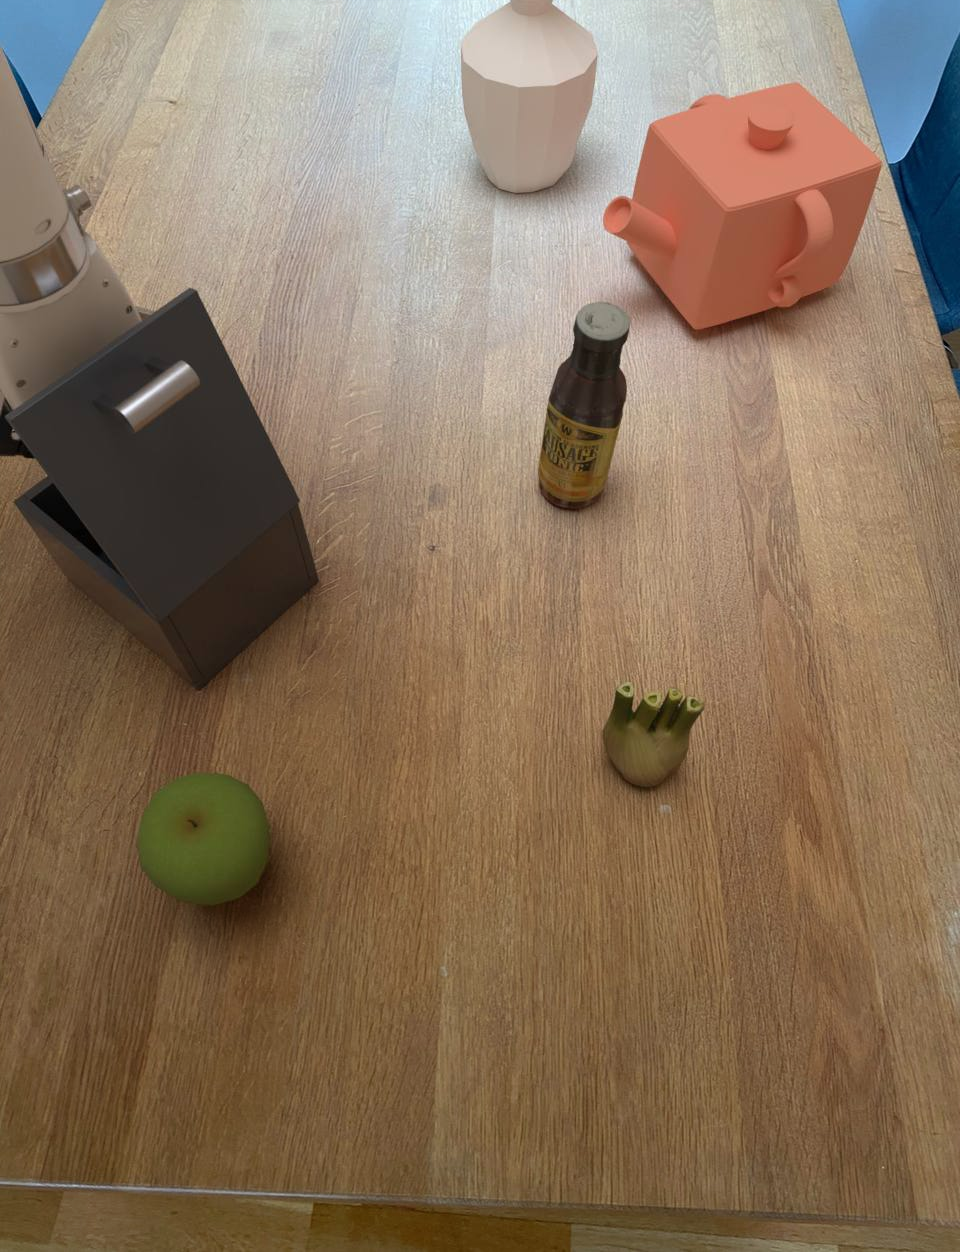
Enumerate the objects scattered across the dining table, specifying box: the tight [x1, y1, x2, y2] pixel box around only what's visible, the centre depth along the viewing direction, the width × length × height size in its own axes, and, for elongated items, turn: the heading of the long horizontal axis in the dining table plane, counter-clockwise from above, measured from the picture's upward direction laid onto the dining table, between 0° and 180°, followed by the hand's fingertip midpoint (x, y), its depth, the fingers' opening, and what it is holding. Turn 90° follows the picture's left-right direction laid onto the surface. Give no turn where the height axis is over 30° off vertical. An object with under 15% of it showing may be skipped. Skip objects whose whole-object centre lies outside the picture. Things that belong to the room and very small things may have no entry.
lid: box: [5, 287, 301, 622], centre depth 61 cm, size 18×14×5 cm
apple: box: [136, 772, 271, 906], centre depth 63 cm, size 9×8×12 cm
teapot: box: [602, 81, 883, 330], centre depth 92 cm, size 25×23×18 cm
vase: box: [460, 0, 599, 194], centre depth 98 cm, size 14×14×25 cm
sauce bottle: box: [537, 301, 631, 510], centre depth 77 cm, size 7×6×20 cm
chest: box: [13, 475, 320, 692], centre depth 76 cm, size 17×14×11 cm
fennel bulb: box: [601, 681, 705, 788], centre depth 68 cm, size 6×5×12 cm
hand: (117, 453), depth 69 cm, fingers closed on wineglass, 5 cm apart
